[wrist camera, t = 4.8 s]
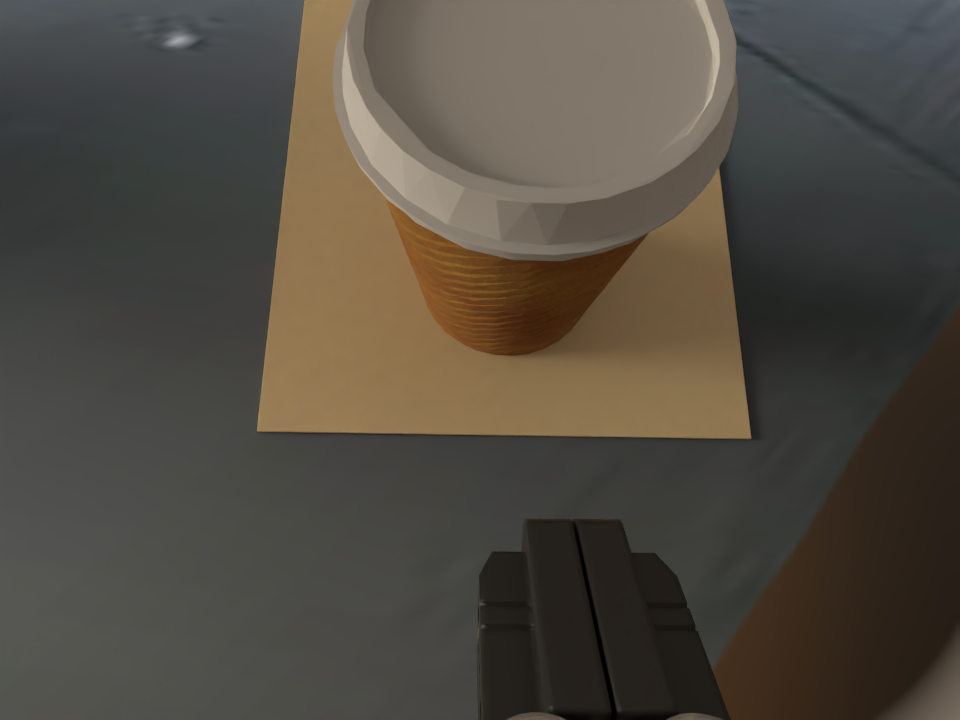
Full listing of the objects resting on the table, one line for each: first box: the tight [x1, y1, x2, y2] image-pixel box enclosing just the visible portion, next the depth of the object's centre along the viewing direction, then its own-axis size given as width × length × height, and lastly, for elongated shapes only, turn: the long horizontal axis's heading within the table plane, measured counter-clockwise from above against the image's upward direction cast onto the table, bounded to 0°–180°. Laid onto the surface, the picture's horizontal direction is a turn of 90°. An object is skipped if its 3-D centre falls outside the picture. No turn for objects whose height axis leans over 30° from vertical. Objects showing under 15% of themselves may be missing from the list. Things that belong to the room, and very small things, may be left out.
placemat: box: [257, 0, 751, 439], centre depth 31 cm, size 17×34×1 cm, turn 0°
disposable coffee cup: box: [332, 0, 738, 356], centre depth 22 cm, size 10×10×12 cm
